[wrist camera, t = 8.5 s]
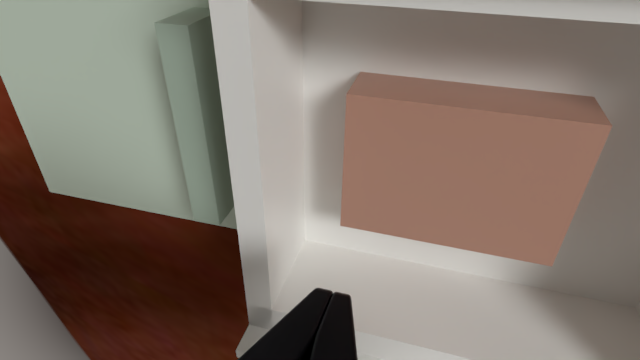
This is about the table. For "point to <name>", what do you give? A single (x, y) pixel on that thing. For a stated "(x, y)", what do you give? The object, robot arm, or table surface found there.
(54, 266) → the table surface
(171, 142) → the lid
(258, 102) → the box
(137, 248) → the table surface
